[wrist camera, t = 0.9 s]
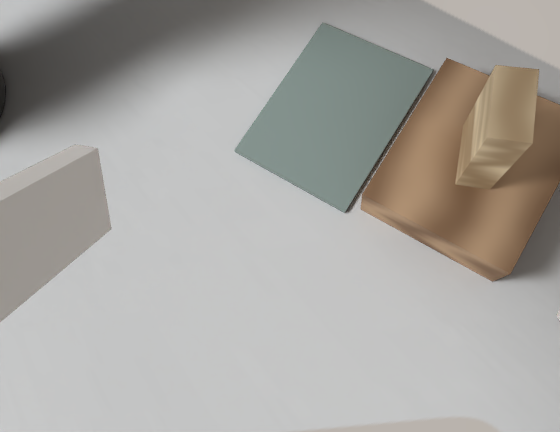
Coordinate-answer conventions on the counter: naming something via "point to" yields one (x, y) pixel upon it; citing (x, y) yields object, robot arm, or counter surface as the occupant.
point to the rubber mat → (334, 115)
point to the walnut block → (457, 198)
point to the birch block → (498, 126)
